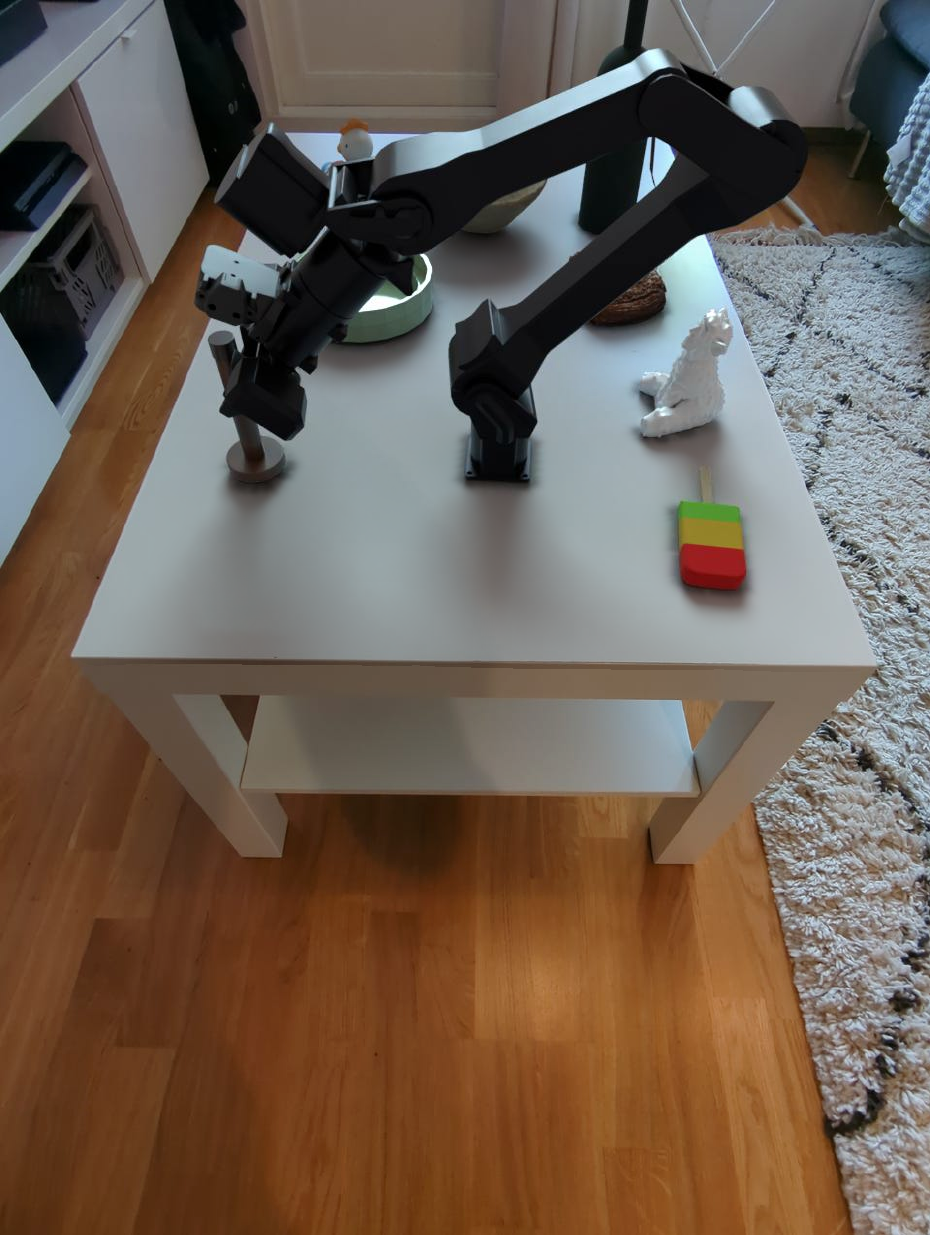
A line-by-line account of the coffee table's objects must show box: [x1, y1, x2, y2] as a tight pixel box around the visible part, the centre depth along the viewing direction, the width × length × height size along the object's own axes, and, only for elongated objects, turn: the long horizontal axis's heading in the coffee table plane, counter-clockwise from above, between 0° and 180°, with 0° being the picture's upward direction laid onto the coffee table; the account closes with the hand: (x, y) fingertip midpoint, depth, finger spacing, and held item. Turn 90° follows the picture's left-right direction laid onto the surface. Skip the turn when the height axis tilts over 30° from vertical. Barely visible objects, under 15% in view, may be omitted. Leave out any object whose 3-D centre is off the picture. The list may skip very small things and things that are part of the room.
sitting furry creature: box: [638, 307, 734, 439], centre depth 76 cm, size 10×9×12 cm
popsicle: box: [677, 466, 747, 591], centre depth 70 cm, size 6×15×2 cm, turn 172°
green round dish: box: [294, 247, 435, 344], centre depth 91 cm, size 17×17×4 cm
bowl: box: [462, 179, 548, 234], centre depth 102 cm, size 18×18×8 cm
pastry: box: [568, 251, 668, 328], centre depth 92 cm, size 11×12×6 cm
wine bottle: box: [577, 0, 657, 236], centre depth 94 cm, size 8×10×30 cm
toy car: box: [320, 117, 374, 199], centre depth 107 cm, size 9×9×10 cm
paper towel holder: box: [207, 330, 287, 483], centre depth 69 cm, size 6×6×14 cm
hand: (225, 405), depth 69 cm, fingers closed on paper towel holder
